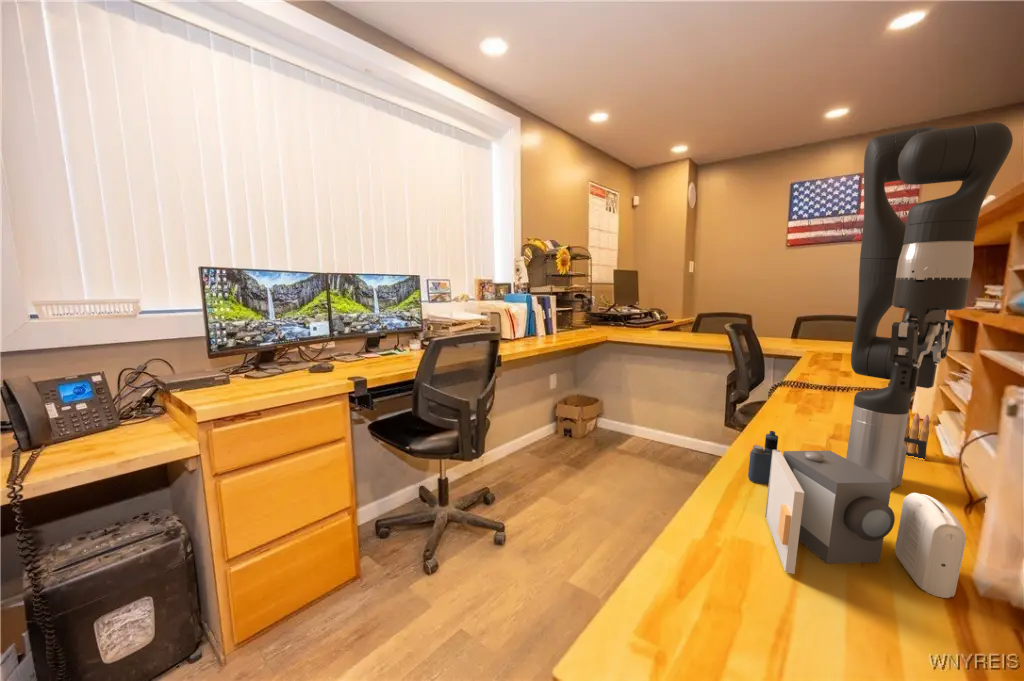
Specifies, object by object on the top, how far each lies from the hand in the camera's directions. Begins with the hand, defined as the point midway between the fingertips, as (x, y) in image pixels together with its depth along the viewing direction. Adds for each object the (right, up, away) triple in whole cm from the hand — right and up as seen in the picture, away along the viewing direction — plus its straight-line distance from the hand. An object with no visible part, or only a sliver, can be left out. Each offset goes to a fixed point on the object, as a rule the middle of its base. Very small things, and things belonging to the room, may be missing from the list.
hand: (913, 388), depth 61 cm
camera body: (-5, -28, +10) cm, 30 cm away
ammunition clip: (+43, -23, +48) cm, 68 cm away
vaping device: (-3, -25, +32) cm, 41 cm away
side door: (-14, -28, +10) cm, 33 cm away
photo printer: (+4, -30, +3) cm, 30 cm away
